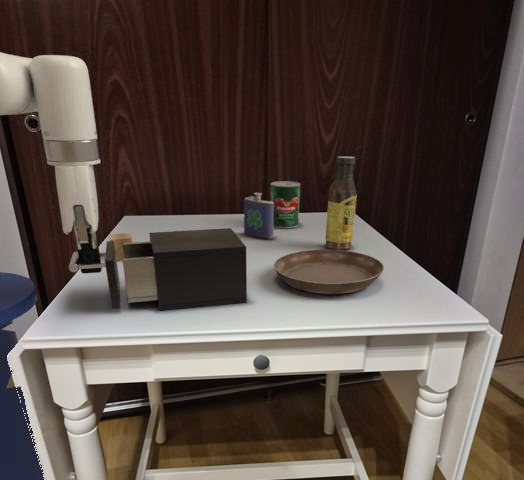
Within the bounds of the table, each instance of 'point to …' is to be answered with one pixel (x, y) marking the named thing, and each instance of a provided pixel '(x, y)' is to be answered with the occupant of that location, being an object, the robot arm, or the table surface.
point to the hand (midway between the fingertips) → (91, 271)
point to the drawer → (127, 271)
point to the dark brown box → (199, 268)
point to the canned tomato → (285, 204)
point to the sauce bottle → (341, 206)
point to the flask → (258, 217)
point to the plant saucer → (328, 271)
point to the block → (120, 243)
